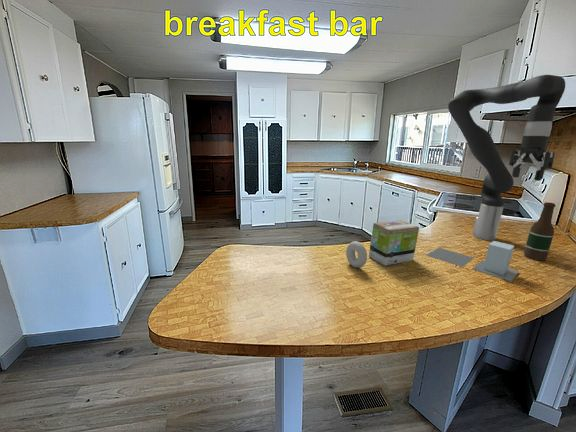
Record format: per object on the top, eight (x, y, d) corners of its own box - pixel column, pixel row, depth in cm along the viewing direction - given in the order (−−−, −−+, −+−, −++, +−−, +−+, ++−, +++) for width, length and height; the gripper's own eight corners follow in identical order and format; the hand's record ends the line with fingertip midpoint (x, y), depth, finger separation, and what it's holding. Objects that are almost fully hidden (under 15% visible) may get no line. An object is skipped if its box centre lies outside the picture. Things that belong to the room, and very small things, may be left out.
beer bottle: (550, 262, 118) (568, 206, 112) (529, 260, 119) (545, 204, 113) (538, 254, 125) (554, 201, 119) (518, 253, 127) (533, 200, 120)
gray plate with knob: (472, 270, 108) (474, 261, 107) (481, 261, 116) (483, 253, 115) (510, 282, 100) (513, 273, 99) (518, 272, 107) (520, 263, 106)
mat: (425, 256, 120) (425, 255, 120) (438, 248, 129) (439, 247, 129) (462, 267, 110) (462, 266, 110) (473, 258, 119) (474, 257, 119)
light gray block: (483, 269, 108) (489, 244, 105) (487, 264, 112) (493, 240, 109) (503, 275, 103) (510, 249, 101) (507, 270, 107) (514, 245, 105)
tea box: (385, 267, 108) (390, 230, 104) (368, 256, 117) (372, 222, 113) (414, 261, 114) (420, 226, 110) (395, 251, 123) (400, 219, 119)
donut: (367, 271, 104) (370, 246, 101) (360, 273, 102) (363, 247, 99) (350, 260, 112) (352, 237, 110) (343, 262, 111) (345, 238, 108)
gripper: (509, 134, 111) (501, 176, 115) (548, 134, 97) (537, 181, 102) (525, 135, 112) (516, 176, 116) (566, 134, 99) (554, 181, 103)
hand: (526, 178), depth 109 cm, fingers open, 8 cm apart
